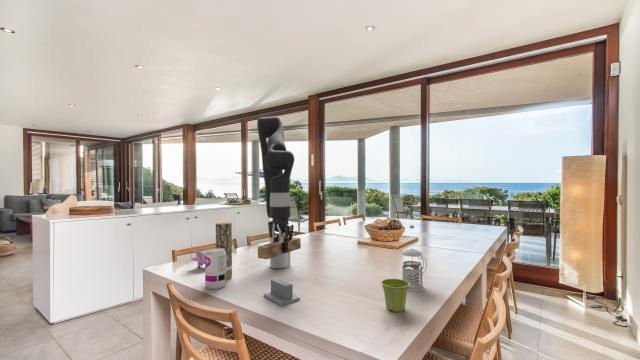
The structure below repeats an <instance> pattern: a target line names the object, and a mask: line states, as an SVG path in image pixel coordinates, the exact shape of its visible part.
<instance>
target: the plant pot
mask: <svg viewBox="0 0 640 360" xmlns="http://www.w3.org/2000/svg"><path fill="white" fill-rule="evenodd" d="M380 284H381V285H382V286H381V287H382V289H383V293H384V300H385V301H384V302H385V308H386V309H387V310H388V311H392V312H402V311H404V310H405V309H406V304H407V295H408V294H407V293H408V291H407V290H408V286H409V285H410V283H409V282H407V281H405V280H402V279H401V278H385V279H382V280H381V281H380Z"/></svg>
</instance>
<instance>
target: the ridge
mask: <svg viewBox="0 0 640 360" xmlns="http://www.w3.org/2000/svg"><path fill="white" fill-rule="evenodd" d="M293 288H294V287H293V284H292V283H290V282H288V281H285V280H284V279H281V278H279V277H275V278H271V279H270V291H269V292H265V293H263V297H264V298H266V299H267V300H270V301H272V302H273V303H274V304H277V305H279V306H280V307H283V306H285V305H289V304H291V303H295V302H299V301H301V297H300V296H297V295H296V294H294V293H293V290H294V289H293Z"/></svg>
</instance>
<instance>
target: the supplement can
mask: <svg viewBox="0 0 640 360" xmlns="http://www.w3.org/2000/svg"><path fill="white" fill-rule="evenodd" d="M204 253H205V264H204V272H205V273H204V281H205V282H204V285H205V287H206V289H209V290H218V289H223V288H225V286H226V285H227V280H226V252H225V249H223V248H216V247H214V248H213V247H212V248H209V249H206V251H205V252H204Z"/></svg>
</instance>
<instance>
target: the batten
mask: <svg viewBox="0 0 640 360" xmlns="http://www.w3.org/2000/svg"><path fill="white" fill-rule="evenodd" d="M301 242H302V241H301V237H293V236H292V241H289V242H288V252H290V253H291V252H293V251H294V252H295V251H296V250H297V251H298V250H300V249H301V246H302V243H301ZM288 252H286V253H288ZM282 254H285V253H282V240H280V241H276V242H273V243H270V242H269V243H266V244H262V245H259V246H257V259H262V260H270V258H273V257H276V256H279V255H282Z"/></svg>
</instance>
